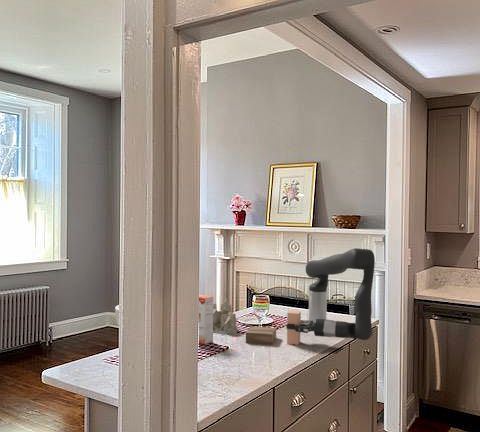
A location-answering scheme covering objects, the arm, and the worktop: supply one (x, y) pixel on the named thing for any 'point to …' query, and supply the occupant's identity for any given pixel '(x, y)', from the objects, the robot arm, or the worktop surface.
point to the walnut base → (261, 335)
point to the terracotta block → (292, 335)
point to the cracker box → (205, 319)
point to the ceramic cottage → (224, 319)
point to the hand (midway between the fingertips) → (288, 324)
